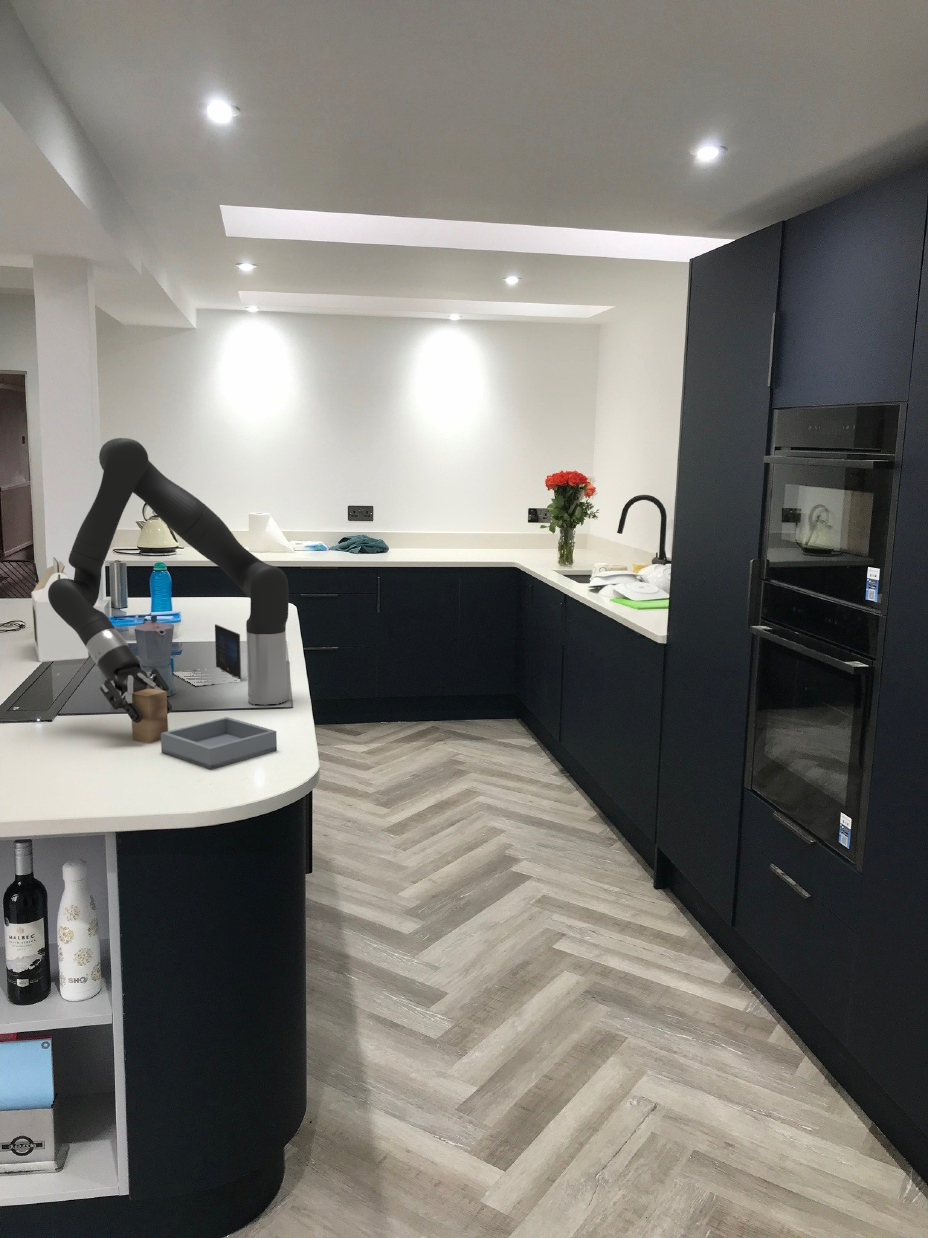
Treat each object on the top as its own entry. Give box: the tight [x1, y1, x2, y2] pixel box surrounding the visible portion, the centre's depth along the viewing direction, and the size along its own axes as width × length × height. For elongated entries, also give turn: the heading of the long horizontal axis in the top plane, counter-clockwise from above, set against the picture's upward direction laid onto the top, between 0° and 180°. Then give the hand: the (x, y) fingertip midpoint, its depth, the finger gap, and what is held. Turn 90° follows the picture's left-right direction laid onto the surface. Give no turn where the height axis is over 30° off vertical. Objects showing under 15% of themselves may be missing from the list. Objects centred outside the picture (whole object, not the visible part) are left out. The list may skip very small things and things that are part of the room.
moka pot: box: [133, 615, 176, 697], centre depth 233 cm, size 10×15×20 cm, turn 39°
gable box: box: [30, 557, 90, 663], centre depth 279 cm, size 22×13×28 cm, turn 27°
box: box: [160, 716, 278, 770], centre depth 189 cm, size 16×16×4 cm
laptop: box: [172, 624, 242, 687], centre depth 252 cm, size 18×12×13 cm
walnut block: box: [131, 688, 169, 744], centre depth 197 cm, size 5×5×10 cm
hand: (154, 716), depth 196 cm, fingers open, 7 cm apart
